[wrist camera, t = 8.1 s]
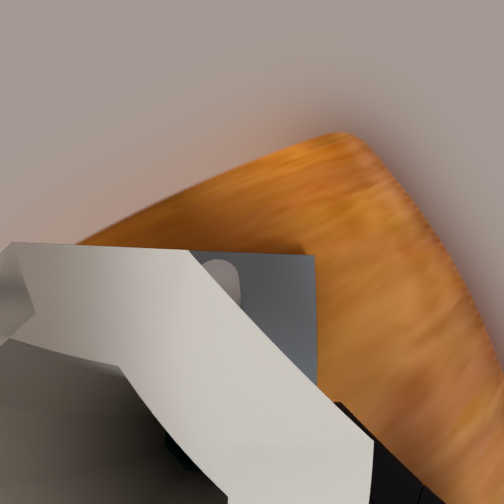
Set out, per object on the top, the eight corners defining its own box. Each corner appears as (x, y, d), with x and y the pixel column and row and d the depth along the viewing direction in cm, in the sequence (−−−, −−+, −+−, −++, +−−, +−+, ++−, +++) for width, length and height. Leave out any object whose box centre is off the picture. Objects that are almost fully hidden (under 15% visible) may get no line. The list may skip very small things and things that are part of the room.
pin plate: (304, 527, 11) (318, 558, 7) (124, 508, 11) (91, 528, 8) (310, 264, 19) (323, 227, 15) (151, 257, 19) (129, 221, 15)
